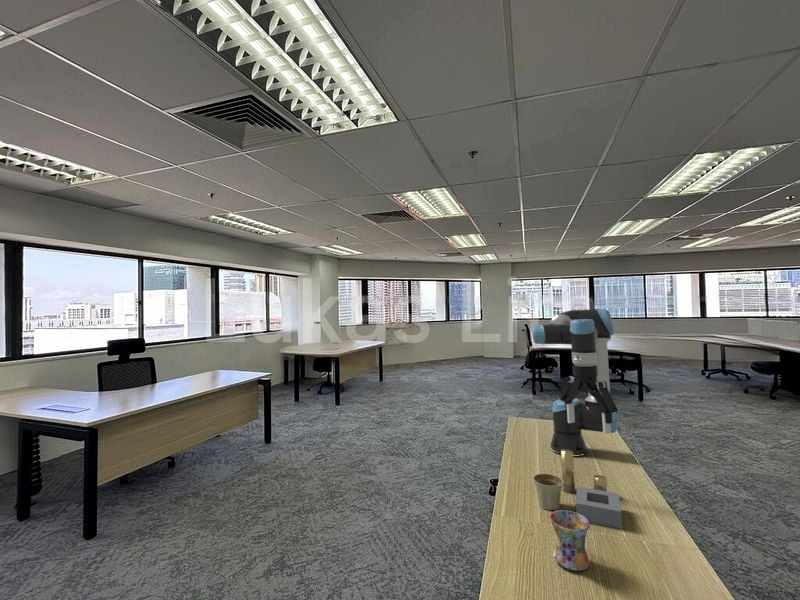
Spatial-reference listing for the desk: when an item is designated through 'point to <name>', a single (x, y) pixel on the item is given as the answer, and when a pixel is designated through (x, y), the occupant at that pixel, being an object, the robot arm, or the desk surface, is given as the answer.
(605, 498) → the slate block
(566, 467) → the long pin
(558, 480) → the flower pot
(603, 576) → the desk surface
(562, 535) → the mug
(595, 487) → the short pin
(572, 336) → the robot arm
